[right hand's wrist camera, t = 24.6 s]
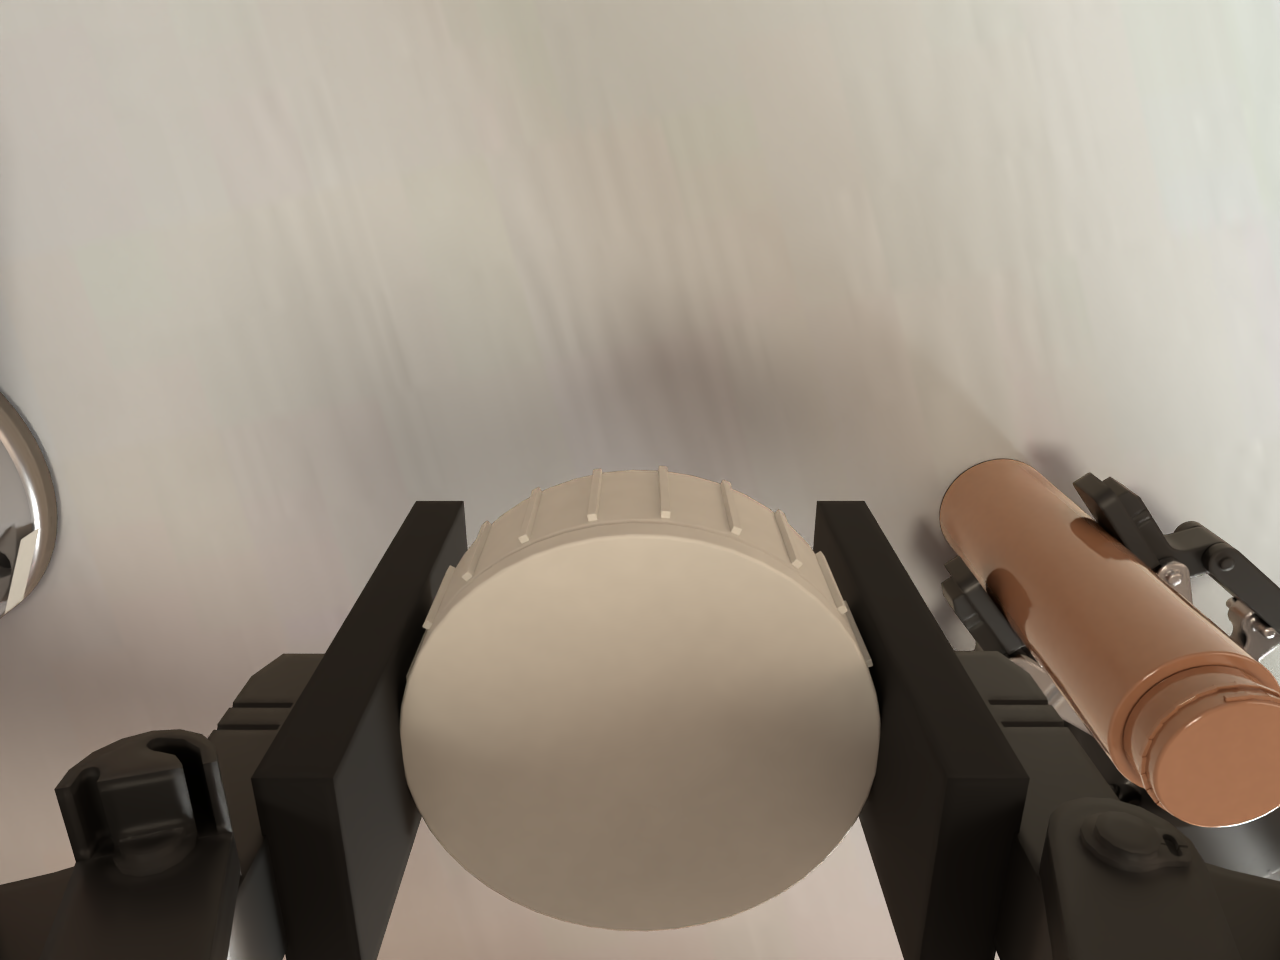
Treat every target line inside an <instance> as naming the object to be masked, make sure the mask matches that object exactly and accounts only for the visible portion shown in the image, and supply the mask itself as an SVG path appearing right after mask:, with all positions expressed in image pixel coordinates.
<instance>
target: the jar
mask: <svg viewBox="0 0 1280 960" xmlns="http://www.w3.org/2000/svg"><path fill="white" fill-rule="evenodd" d="M940 526H941V529H942V532H943V535H944V537H945V539H946V540H947V542H948V543H949V545H950V546H951V547H952V549H953V550H954V551H955V553H956V554H957V555H958V556H960V557H961V559H962V560H963V561H964V563H965V564H966V565H967V567H968V568H969V569H970V571H971V572H972V573H973V575H974V576H975V577H976V579H977V580H978V581H979V583H980V584H981V585H982V587H983V588H984V590H985V591H986V592H987V594H988V595H989V597H990V598H991V599H992V601H993V602H994V603H995V605H996V606H997V608H998V609H999V610H1000V612H1001V613H1002V614H1003V616H1004V617H1005V619H1006V620H1007V621H1008V623H1009V624H1010V626H1011V627H1012V629H1013V630H1014V632H1015V633H1016V634H1017V636H1018V637H1019V638H1020V640H1021V641H1022V642H1023V644H1024V645H1025V646H1026V648H1027V649H1028V650H1029V652H1030V653H1031V654H1032V656H1033V657H1034V658H1035V660H1036V661H1037V662H1038V664H1039V665H1040V666H1041V668H1042V669H1043V670H1044V672H1045V673H1046V674H1047V676H1048V677H1049V678H1050V680H1051V681H1052V682H1053V684H1054V685H1055V686H1056V688H1057V689H1058V690H1059V692H1060V693H1061V694H1062V696H1063V697H1064V698H1065V700H1066V701H1067V702H1068V704H1069V705H1070V706H1071V708H1072V709H1073V711H1074V712H1075V713H1076V715H1077V716H1078V717H1079V719H1080V720H1081V721H1082V723H1083V724H1084V725H1085V727H1086V728H1087V729H1088V731H1089V732H1090V733H1091V735H1092V736H1093V737H1094V739H1095V740H1096V741H1097V743H1098V744H1099V745H1100V747H1101V748H1102V749H1103V751H1104V752H1105V753H1106V755H1107V756H1108V757H1109V759H1110V760H1111V761H1112V763H1113V764H1114V765H1115V767H1116V768H1117V769H1118V770H1119V772H1120V773H1121V774H1122V775H1123V776H1124V777H1126V778H1127V779H1128V780H1129V781H1131V782H1132V783H1134V784H1136V785H1138V786H1139V787H1142V788H1144V789H1145V790H1146V791H1147V793H1148V794H1149V795H1150V797H1151V798H1152V799H1153V800H1154V802H1155V803H1156V804H1157V805H1158V806H1160V807H1161V808H1163V809H1164V810H1166V811H1167V812H1169V813H1170V814H1171V815H1173V816H1175V817H1177V818H1178V819H1180V820H1182V821H1184V822H1187V823H1189V824H1193V825H1197V826H1202V827H1214V828H1219V827H1230V826H1236V825H1240V824H1244V823H1248V822H1250V821H1253V820H1256V819H1258V818H1260V817H1262V816H1264V815H1267V814H1268V813H1270V812H1272V811H1273V810H1275V809H1277V808H1278V807H1279V806H1280V686H1279V684H1278V683H1277V681H1276V679H1275V677H1274V676H1273V675H1272V674H1271V672H1270V671H1269V670H1268V669H1267V668H1265V667H1264V666H1263V665H1262V664H1261V663H1260V662H1259V661H1257V660H1256V659H1255V658H1254V657H1253V656H1252V655H1250V654H1249V653H1248V652H1247V651H1246V650H1245V649H1243V648H1242V647H1241V646H1240V645H1239V644H1238V643H1236V642H1235V641H1234V640H1233V639H1232V638H1231V637H1230V636H1228V635H1227V634H1226V633H1225V632H1224V631H1223V630H1221V629H1220V628H1219V627H1218V626H1217V625H1216V624H1214V623H1213V622H1212V621H1211V620H1210V619H1209V618H1207V617H1206V616H1205V615H1204V614H1203V613H1202V612H1200V611H1199V610H1198V609H1197V608H1196V607H1195V606H1193V605H1192V604H1191V603H1190V602H1189V601H1188V600H1187V599H1185V598H1184V597H1183V596H1182V595H1181V594H1180V593H1178V592H1177V591H1176V590H1175V589H1174V588H1173V587H1171V586H1170V585H1169V584H1168V583H1167V582H1166V581H1164V580H1163V579H1162V578H1161V577H1160V576H1159V575H1157V574H1156V573H1155V572H1154V571H1153V570H1152V569H1151V568H1149V567H1148V566H1147V565H1146V564H1145V563H1144V562H1142V561H1141V560H1140V559H1139V558H1138V557H1137V556H1135V555H1134V554H1133V553H1132V552H1131V551H1130V550H1128V549H1127V548H1126V547H1125V546H1124V545H1123V544H1121V543H1120V542H1119V541H1118V540H1117V539H1116V538H1114V537H1113V536H1112V535H1111V534H1110V533H1109V532H1108V531H1106V530H1105V529H1104V528H1103V527H1102V526H1101V525H1099V524H1098V523H1097V522H1096V521H1095V520H1094V519H1092V518H1091V517H1090V516H1089V515H1088V514H1087V513H1085V512H1084V511H1083V510H1082V509H1081V508H1080V507H1078V506H1077V505H1076V504H1075V503H1074V502H1073V501H1071V500H1070V499H1069V498H1068V497H1067V496H1066V495H1065V494H1063V493H1062V492H1061V491H1060V490H1059V489H1058V488H1056V487H1055V486H1054V485H1053V484H1052V483H1051V482H1049V481H1048V480H1047V479H1046V478H1045V477H1044V476H1042V475H1041V474H1040V473H1039V472H1038V471H1037V470H1035V469H1034V468H1033V467H1031V466H1029V465H1027V464H1025V463H1023V462H1020V461H1016V460H1010V459H998V460H991V461H986V462H983V463H980V464H978V465H976V466H974V467H972V468H970V469H968V470H967V471H965V472H964V473H963V474H961V475H960V476H959V477H958V478H957V479H956V480H955V481H954V482H953V483H952V485H951V486H950V487H949V489H948V491H947V492H946V494H945V496H944V498H943V501H942V505H941V509H940Z"/></svg>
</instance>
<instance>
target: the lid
mask: <svg viewBox="0 0 1280 960" xmlns="http://www.w3.org/2000/svg"><path fill="white" fill-rule="evenodd" d="M423 628H425V629H426V631H425V633H424V635H423V638H422V640H421V642H420V645H419V647H418V649H417V652H416V654H415V656H414V659H413V661H412V664H411V666H410V668H409V671H408V673H407V675H406V681H407V682H406V687H405V691H404V695H403V699H402V703H401V710H400V737H401V745H402V754H403V762H404V770H405V777H406V781H407V785H408V787H409V789H410V792H411V794H412V797H413V799H414V802H415V804H416V807H417V809H418V810H419V812H420V814H421V816H422V817H423V819H424V821H425V822H426V824H427V826H428V828H429V829H430V831H431V832H432V833H433V835H434V836H435V837H436V838H437V840H438V841H439V842H440V843H441V845H442V846H443V847H444V849H445V850H446V851H447V852H448V853H449V854H450V855H451V856H452V857H453V858H454V859H455V860H456V861H457V862H458V863H459V864H460V865H461V866H462V867H463V868H464V869H465V870H467V871H468V872H469V873H470V874H472V875H473V876H474V877H476V878H477V879H478V880H480V881H481V882H482V883H483V884H485V885H486V886H488V887H489V888H491V889H493V890H494V891H496V892H498V893H499V894H501V895H503V896H504V897H506V898H508V899H509V900H511V901H513V902H515V903H518V904H520V905H522V906H524V907H526V908H529V909H531V910H533V911H535V912H538V913H541V914H544V915H547V916H550V917H553V918H556V919H559V920H562V921H566V922H570V923H574V924H579V925H583V926H588V927H594V928H602V929H610V930H618V931H658V930H672V929H680V928H685V927H691V926H697V925H703V924H707V923H710V922H714V921H717V920H721V919H725V918H728V917H731V916H734V915H737V914H739V913H742V912H744V911H747V910H749V909H752V908H754V907H757V906H759V905H761V904H763V903H765V902H766V901H768V900H770V899H772V898H774V897H776V896H778V895H780V894H782V893H783V892H785V891H786V890H788V889H789V888H791V887H792V886H793V885H795V884H796V883H798V882H799V881H801V880H802V879H804V878H805V877H806V876H807V875H808V874H810V873H811V872H812V871H813V870H814V869H815V868H817V867H818V866H819V865H820V864H821V863H822V862H824V861H825V859H826V858H827V857H828V856H829V855H830V854H831V853H832V852H833V851H834V849H835V848H836V847H837V846H838V845H839V844H840V843H841V842H842V840H843V839H844V837H845V836H846V835H847V833H848V832H849V830H850V829H851V827H852V826H853V824H854V823H855V821H856V820H857V818H858V816H859V814H860V812H861V810H862V808H863V806H864V804H865V802H866V800H867V798H868V796H869V792H870V789H871V786H872V783H873V780H874V777H875V774H876V767H877V759H878V751H879V742H880V728H881V718H880V712H879V705H878V699H877V693H876V690H875V687H874V684H873V681H872V678H871V675H870V672H869V669H868V667H871V666H873V663H872V660H871V657H870V655H869V653H868V650H867V648H866V646H865V643H864V641H863V639H862V637H861V634H860V632H859V630H858V627H857V625H856V623H855V620H854V618H853V616H852V613H851V611H850V609H849V606H848V604H847V602H846V601H843V598H842V596H841V594H840V591H839V589H838V587H837V584H836V582H835V580H834V577H833V575H832V573H831V570H830V568H829V566H828V563H827V561H826V559H825V556H824V555H823V553H822V552H821V551H820V552H818V553H816V554H815V553H814V552H813V550H812V549H811V547H810V546H809V545H808V543H807V542H806V541H805V540H804V539H803V538H802V537H801V536H800V535H799V534H798V533H797V532H796V531H795V530H794V529H793V528H792V527H791V526H790V525H789V524H788V522H787V519H786V516H785V514H784V513H783V512H782V511H781V510H779V509H778V510H777V511H776V512H775V513H774V512H773V511H771V510H770V509H769V508H767V507H765V506H764V505H762V504H760V503H759V502H757V501H755V500H754V499H752V498H750V497H748V496H747V495H745V494H743V493H740V492H738V491H736V490H733V489H732V487H731V483H730V482H728V481H725V480H722V483H721V484H719V483H716V482H713V481H709V480H706V479H702V478H699V477H695V476H692V475H686V474H679V473H673V472H668V470H667V467H666V466H659V469H658V471H650V470H627V471H616V472H605V473H602V469H601V468H600V469H594V470H593V474H592V475H590V476H586V477H581V478H576V479H573V480H570V481H568V482H565V483H562V484H559V485H556V486H553V487H550V488H548V489H546V490H544V491H541V489H540V488H539V487H538V488H536V489H534V490H532V492H531V496H530V498H528V499H526V500H524V501H522V502H521V503H519V504H518V505H516V506H515V507H514V508H512V509H511V510H509V511H508V512H506V513H505V514H503V515H502V516H500V517H499V518H498V519H497V520H496V521H495V522H494V523H493V524H492V525H491V524H490V523H489V522H488V521H486V522H485V523H484V524H483V525H482V526H481V529H480V531H479V534H478V536H477V539H476V541H475V542H474V543H473V544H472V545H471V547H470V548H469V549H468V550H467V551H466V553H465V554H464V555H463V557H462V558H461V560H460V562H459V563H458V565H457V567H456V568H455V567H453V566H451V565H450V566H449V568H448V569H447V571H446V574H445V576H444V578H443V580H442V583H441V585H440V587H439V590H438V592H437V594H436V597H435V599H434V601H433V603H432V606H431V608H430V610H429V613H428V615H427V617H426V619H425V622H424V624H423Z"/></svg>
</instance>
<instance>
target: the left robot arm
mask: <svg viewBox="0 0 1280 960" xmlns="http://www.w3.org/2000/svg"><path fill="white" fill-rule="evenodd" d="M1073 485H1074V487H1075V489H1076V490H1077V492H1078V493H1079V495H1080V496H1081V498H1082V500H1083V501H1084V503H1085V504H1086V506H1087V507H1088V509H1089V510H1090V512H1091V513H1092V515H1093V516H1094V518H1095V520H1096V521H1097V523H1098V524H1099V525H1101V526H1102V527H1103V528H1104V529H1105V530H1106V531H1108V532H1109V533H1110V534H1111V535H1112V536H1113V537H1114V538H1116V539H1117V540H1118V541H1119V542H1120V543H1121V544H1123V545H1124V546H1125V547H1126V548H1127V549H1128V550H1130V551H1131V552H1132V553H1133V554H1134V555H1135V556H1137V557H1138V558H1139V559H1140V560H1141V561H1142V562H1144V563H1145V564H1146V565H1147V566H1148V567H1149V568H1151V569H1152V570H1153V571H1154V572H1155V573H1156V574H1157V575H1159V576H1160V577H1161V578H1162V579H1163V580H1164V581H1166V582H1167V583H1168V584H1169V585H1170V586H1171V587H1173V588H1174V589H1175V590H1176V591H1177V592H1178V593H1180V594H1181V595H1182V596H1183V597H1184V598H1185V599H1187V600H1188V601H1189V602H1190V603H1191V604H1192V605H1193V603H1192V593H1191V583H1190V578H1193V577H1197V576H1201V575H1205V574H1208V575H1209V576H1211V577H1212V578H1213V579H1214V580H1215V581H1216V582H1217V583H1219V584H1220V585H1221V586H1222V587H1223V588H1224V589H1225V590H1226V591H1228V592H1229V593H1230V594H1231V595H1232V596H1233V597H1232V598H1230V599H1228V600H1227V602H1226V606H1227V607H1228V608H1229V611H1228V618H1229V620H1230V621H1231V623H1232V625H1233V632H1232V634H1231V636H1230V637H1231V638H1232V639H1233V640H1234V641H1235V642H1236V643H1238V644H1239V645H1240V646H1241V647H1242V648H1243V649H1245V650H1246V651H1247V652H1248V653H1249V654H1250V655H1252V656H1253V657H1254V658H1255V659H1256V660H1257V661H1260V660H1261V659H1262V658H1264V657H1265V656H1266V655H1267V654H1269V653H1270V652H1271V651H1272V650H1274V649H1275V648H1276V647H1277V646H1278V645H1280V588H1279V587H1278V586H1277V585H1276V584H1275V583H1273V582H1272V581H1271V580H1270V579H1269V578H1268V577H1267V576H1266V575H1265V574H1263V573H1262V572H1261V571H1260V570H1259V569H1258V568H1257V567H1256V566H1255V565H1254V564H1252V563H1251V562H1250V561H1249V560H1248V559H1247V558H1246V557H1245V556H1244V555H1242V554H1241V553H1240V552H1239V551H1238V550H1236V549H1235V548H1234V547H1232V546H1231V545H1229V544H1228V543H1227V542H1225V541H1224V540H1222V539H1221V538H1220V537H1218V536H1217V535H1215V534H1214V533H1212V532H1211V531H1210V530H1208V529H1207V528H1205V527H1204V526H1202V525H1201V524H1200V523H1198V522H1195V521H1188V522H1185V523H1183V524H1181V525H1180V526H1178V527H1177V528H1176V530H1175V531H1174V533H1172V534H1167V535H1163V534H1162V532H1161V530H1160V529H1159V527H1158V526H1157V524H1156V522H1155V521H1154V519H1153V518H1152V516H1151V514H1150V513H1149V511H1148V510H1147V508H1146V506H1145V505H1144V503H1143V501H1142V500H1141V498H1140V497H1139V496H1137V495H1136V494H1134V493H1133V492H1132V491H1130V490H1129V489H1128V488H1126V487H1125V486H1124V485H1122V484H1121V483H1119V482H1118V481H1116V480H1114V479H1113V478H1111V477H1109V478H1107V479H1105V480H1104V481H1101V480H1099V479H1098V478H1097V477H1095V476H1094V475H1093V474H1091V473H1090V472H1089V473H1088V474H1086V475H1085V476H1083V477H1081V478H1080V479H1078V480H1077V481H1075V482H1074V483H1073ZM944 566H945V567H946V569H947V570H948V571H949V573H950V574H951V576H952V577H950V578H949V579H947V580H945V581H944V582H942V583H941V585H942V590H943V595H944V597H945V598H946V600H947V601H948V603H949V604H950V606H951V607H952V609H953V610H954V612H955V613H956V615H957V616H958V617H959V619H960V620H961V621H962V623H963V624H964V625H965V627H966V628H967V629H968V631H969V632H970V633H971V635H972V636H973V637H974V639H975V640H976V647H975V650H974V651H998V652H1000V653H1001V654H1003V655H1004V656H1005V657H1007V658H1008V659H1010V660H1011V661H1012V662H1014V663H1015V664H1017V665H1018V666H1020V667H1021V668H1022V669H1024V670H1025V671H1027V672H1028V673H1029V674H1030V675H1031V676H1032V678H1033V679H1034V680H1035V682H1036V683H1037V685H1038V686H1039V687H1040V689H1041V690H1042V692H1043V693H1044V695H1045V696H1046V697H1047V699H1048V704H1049V705H1052V706H1053V707H1054V709H1055V710H1056V711H1057V713H1058V714H1059V716H1060V717H1061V718H1062V720H1063V721H1064V727H1068V728H1069V730H1070V731H1071V732H1072V734H1073V735H1074V737H1075V738H1076V739H1077V741H1078V742H1079V744H1080V745H1081V747H1082V748H1083V749H1084V751H1085V752H1086V754H1087V755H1088V756H1089V758H1090V759H1091V761H1092V762H1093V763H1094V765H1095V766H1096V768H1097V769H1098V770H1099V772H1100V773H1101V775H1102V776H1103V777H1104V779H1105V780H1106V782H1107V783H1108V784H1109V786H1110V787H1111V789H1112V790H1113V791H1114V793H1115V794H1116V796H1117V797H1118V799H1119V800H1120V801H1122V802H1125V803H1129V804H1132V805H1135V806H1139V807H1141V808H1143V809H1145V810H1147V811H1149V812H1151V813H1153V814H1155V815H1157V816H1159V817H1161V818H1163V819H1164V820H1166V821H1168V822H1169V823H1171V824H1172V825H1173V826H1174V827H1175V828H1177V829H1178V830H1179V831H1180V832H1181V833H1183V834H1184V835H1185V836H1186V837H1187V838H1189V839H1190V840H1191V842H1192V843H1193V845H1194V846H1195V848H1196V849H1197V851H1198V852H1199V854H1200V855H1201V857H1202V859H1203V860H1204V862H1205V863H1209V864H1212V865H1215V866H1219V867H1222V868H1225V869H1229V870H1233V871H1237V872H1242V873H1246V874H1251V875H1255V876H1259V877H1264V878H1268V879H1272V880H1277V881H1280V806H1279V807H1278V808H1277V809H1275V810H1273V811H1272V812H1270V813H1268V814H1267V815H1264V816H1262V817H1260V818H1258V819H1256V820H1253V821H1250V822H1248V823H1244V824H1240V825H1236V826H1230V827H1219V828H1214V827H1202V826H1197V825H1193V824H1189V823H1187V822H1184V821H1182V820H1180V819H1178V818H1177V817H1175V816H1173V815H1171V814H1170V813H1169V812H1167V811H1166V810H1164V809H1163V808H1161V807H1160V806H1158V805H1157V804H1156V803H1155V802H1154V800H1153V799H1152V798H1151V797H1150V795H1149V794H1148V793H1147V791H1146V790H1145V789H1144V788H1142V787H1139V786H1138V785H1136V784H1134V783H1132V782H1131V781H1129V780H1128V779H1127V778H1126V777H1124V776H1123V775H1122V774H1121V773H1120V772H1119V770H1118V769H1117V768H1116V767H1115V765H1114V764H1113V763H1112V761H1111V760H1110V759H1109V757H1108V756H1107V755H1106V753H1105V752H1104V751H1103V749H1102V748H1101V747H1100V745H1099V744H1098V743H1097V741H1096V740H1095V739H1094V737H1093V736H1092V735H1091V733H1090V732H1089V731H1088V729H1087V728H1086V727H1085V725H1084V724H1083V723H1082V721H1081V720H1080V719H1079V717H1078V716H1077V715H1076V713H1075V712H1074V711H1073V709H1072V708H1071V706H1070V705H1069V704H1068V702H1067V701H1066V700H1065V698H1064V697H1063V696H1062V694H1061V693H1060V692H1059V690H1058V689H1057V688H1056V686H1055V685H1054V684H1053V682H1052V681H1051V680H1050V678H1049V677H1048V676H1047V674H1046V673H1045V672H1044V670H1043V669H1042V668H1041V666H1040V665H1039V664H1038V662H1037V661H1036V660H1035V658H1034V657H1033V656H1032V654H1031V653H1030V652H1029V650H1028V649H1027V648H1026V646H1025V645H1024V644H1023V642H1022V641H1021V640H1020V638H1019V637H1018V636H1017V634H1016V633H1015V632H1014V630H1013V629H1012V627H1011V626H1010V624H1009V623H1008V621H1007V620H1006V619H1005V617H1004V616H1003V614H1002V613H1001V612H1000V610H999V609H998V608H997V606H996V605H995V603H994V602H993V601H992V599H991V598H990V597H989V595H988V594H987V592H986V591H985V590H984V588H983V587H982V585H981V584H980V583H979V581H978V580H977V579H976V577H975V576H974V575H973V573H972V572H971V571H970V569H969V568H968V567H967V565H966V564H965V563H964V561H963V560H962V559H961V557H960V556H957V557H955V558H954V559H952V560H951V561H949V562H948V563H946V564H945V565H944Z"/></svg>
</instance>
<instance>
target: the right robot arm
mask: <svg viewBox="0 0 1280 960" xmlns="http://www.w3.org/2000/svg"><path fill="white" fill-rule="evenodd" d="M56 534H57V504H56V498H55V492H54V487H53V483H52V480H51V476H50V472H49V470H48V467H47V464H46V462H45V459H44V457H43V454H42V452H41V450H40V448H39V446H38V444H37V442H36V440H35V439H34V437H33V435H32V434H31V432H30V430H29V429H28V427H27V425H26V424H25V422H24V421H23V420H22V418H21V417H20V415H19V414H18V413H17V411H16V410H15V409H14V407H13V406H12V405H11V404H10V403H9V402H8V400H7V399H6V398H5V397H4V396H3V394H2V393H1V392H0V618H1V617H3V616H4V615H5V614H6V613H8V612H9V611H10V610H12V609H13V608H14V607H15V606H17V605H18V604H19V603H20V602H21V601H23V600H24V599H25V598H26V597H27V596H28V595H29V594H30V593H31V591H32V590H33V589H34V588H35V586H36V585H37V584H38V582H39V581H40V579H41V578H42V576H43V574H44V573H45V571H46V568H47V566H48V564H49V562H50V559H51V556H52V553H53V549H54V545H55V539H56ZM466 551H467V539H466V526H465V513H464V501H416V502H415V504H414V506H413V507H412V509H411V511H410V512H409V514H408V516H407V517H406V519H405V521H404V522H403V524H402V526H401V527H400V529H399V531H398V532H397V534H396V536H395V537H394V539H393V541H392V543H391V544H390V546H389V548H388V549H387V551H386V553H385V554H384V556H383V558H382V559H381V561H380V563H379V564H378V566H377V568H376V569H375V571H374V573H373V574H372V576H371V578H370V579H369V581H368V583H367V584H366V586H365V588H364V589H363V591H362V593H361V594H360V596H359V598H358V599H357V601H356V603H355V604H354V606H353V608H352V609H351V611H350V613H349V614H348V616H347V618H346V620H345V621H344V623H343V625H342V626H341V628H340V630H339V631H338V633H337V635H336V636H335V638H334V640H333V641H332V643H331V645H330V646H329V648H328V650H327V651H326V653H325V654H282V655H281V656H280V657H278V658H277V659H275V660H274V661H272V662H271V663H270V664H268V665H267V666H265V667H264V668H263V669H261V670H260V671H258V672H257V673H256V674H254V675H253V676H251V678H250V679H249V681H248V682H247V683H246V685H245V686H244V688H243V689H242V691H241V692H240V693H239V695H238V696H237V698H236V699H235V700H234V702H233V707H232V708H229V709H228V710H227V712H226V713H225V715H224V716H223V717H222V719H221V720H220V722H219V723H218V728H217V730H213V732H212V733H211V734H210V736H209V737H208V739H207V738H206V737H205V736H203V735H202V734H198V733H194V732H189V731H185V730H181V729H178V730H160V731H150V732H146V733H142V734H139V735H135V736H131V737H127V738H123V739H121V740H118V741H116V742H114V743H112V744H110V745H108V746H105V747H103V748H101V749H99V750H97V751H95V752H93V753H91V754H90V755H89V756H87V757H86V758H85V759H83V760H82V761H80V762H79V763H78V764H76V765H75V766H74V767H72V768H71V769H70V770H69V771H68V772H67V773H66V775H65V776H64V777H63V779H62V780H61V781H60V783H59V784H58V785H57V787H56V788H55V793H56V796H57V800H58V803H59V806H60V810H61V813H62V816H63V820H64V823H65V826H66V830H67V833H68V836H69V840H70V843H71V847H72V850H73V853H74V857H75V860H76V864H75V866H74V867H71V868H68V869H64V870H61V871H58V872H54V873H50V874H46V875H42V876H37V877H33V878H29V879H24V880H20V881H16V882H11V883H7V884H3V885H0V960H282V959H283V957H284V955H286V960H376V959H377V956H378V953H379V950H380V947H381V944H382V940H383V937H384V934H385V931H386V928H387V925H388V921H389V918H390V915H391V912H392V909H393V906H394V903H395V899H396V896H397V893H398V890H399V887H400V884H401V880H402V877H403V874H404V871H405V868H406V865H407V861H408V858H409V855H410V852H411V849H412V846H413V842H414V839H415V836H416V833H417V830H418V827H419V823H420V820H421V817H422V816H421V814H420V812H419V810H418V809H417V807H416V804H415V802H414V799H413V797H412V794H411V792H410V789H409V787H408V785H407V781H406V777H405V770H404V762H403V754H402V745H401V737H400V710H401V703H402V699H403V695H404V691H405V687H406V682H407V681H406V675H407V673H408V671H409V668H410V666H411V664H412V661H413V659H414V656H415V654H416V652H417V649H418V647H419V645H420V642H421V640H422V638H423V635H424V633H425V631H426V629H425V628H423V624H424V622H425V619H426V617H427V615H428V613H429V610H430V608H431V606H432V603H433V601H434V599H435V597H436V594H437V592H438V590H439V587H440V585H441V583H442V580H443V578H444V576H445V574H446V571H447V569H448V568H449V566H450V565H451V566H453V567H455V568H456V567H457V565H458V563H459V562H460V560H461V558H462V557H463V555H464V554H465V553H466ZM820 551H821V552H822V553H823V555H824V556H825V559H826V561H827V563H828V566H829V568H830V570H831V573H832V575H833V577H834V580H835V582H836V584H837V587H838V589H839V591H840V594H841V596H842V598H843V601H846V602H847V604H848V606H849V609H850V611H851V613H852V616H853V618H854V620H855V623H856V625H857V627H858V630H859V632H860V634H861V637H862V639H863V641H864V643H865V646H866V648H867V650H868V653H869V655H870V657H871V660H872V663H873V666H871V667H868V669H869V672H870V675H871V678H872V681H873V684H874V687H875V690H876V693H877V699H878V705H879V712H880V718H881V728H880V742H879V751H878V759H877V767H876V774H875V777H874V780H873V783H872V786H871V789H870V792H869V796H868V798H867V800H866V802H865V804H864V806H863V808H862V810H861V812H860V814H859V819H860V822H861V825H862V828H863V831H864V834H865V838H866V841H867V844H868V847H869V850H870V853H871V857H872V860H873V863H874V866H875V869H876V872H877V875H878V879H879V882H880V885H881V888H882V891H883V894H884V898H885V901H886V904H887V907H888V910H889V913H890V917H891V920H892V923H893V926H894V929H895V932H896V936H897V939H898V942H899V945H900V948H901V951H902V955H903V958H904V960H994V958H995V953H996V951H997V954H998V956H999V958H1000V960H1280V881H1277V880H1272V879H1268V878H1264V877H1259V876H1255V875H1251V874H1246V873H1242V872H1237V871H1233V870H1229V869H1225V868H1222V867H1219V866H1215V865H1212V864H1209V863H1205V862H1204V860H1203V859H1202V857H1201V855H1200V854H1199V852H1198V851H1197V849H1196V848H1195V846H1194V845H1193V843H1192V842H1191V840H1190V839H1189V838H1187V837H1186V836H1185V835H1184V834H1183V833H1181V832H1180V831H1179V830H1178V829H1177V828H1175V827H1174V826H1173V825H1172V824H1171V823H1169V822H1168V821H1166V820H1164V819H1163V818H1161V817H1159V816H1157V815H1155V814H1153V813H1151V812H1149V811H1147V810H1145V809H1143V808H1141V807H1139V806H1135V805H1132V804H1129V803H1125V802H1122V801H1120V800H1119V799H1118V797H1117V796H1116V794H1115V793H1114V791H1113V790H1112V789H1111V787H1110V786H1109V784H1108V783H1107V782H1106V780H1105V779H1104V777H1103V776H1102V775H1101V773H1100V772H1099V770H1098V769H1097V768H1096V766H1095V765H1094V763H1093V762H1092V761H1091V759H1090V758H1089V756H1088V755H1087V754H1086V752H1085V751H1084V749H1083V748H1082V747H1081V745H1080V744H1079V742H1078V741H1077V739H1076V738H1075V737H1074V735H1073V734H1072V732H1071V731H1070V730H1069V728H1068V727H1064V721H1063V720H1062V718H1061V717H1060V716H1059V714H1058V713H1057V711H1056V710H1055V709H1054V707H1053V706H1052V705H1049V704H1048V699H1047V697H1046V696H1045V695H1044V693H1043V692H1042V690H1041V689H1040V687H1039V686H1038V685H1037V683H1036V682H1035V680H1034V679H1033V678H1032V676H1031V675H1030V674H1029V673H1028V672H1027V671H1025V670H1024V669H1022V668H1021V667H1020V666H1018V665H1017V664H1015V663H1014V662H1012V661H1011V660H1010V659H1008V658H1007V657H1005V656H1004V655H1003V654H1001V653H1000V652H998V651H954V650H953V649H952V647H951V645H950V644H949V642H948V640H947V639H946V637H945V635H944V634H943V632H942V630H941V629H940V627H939V625H938V624H937V622H936V620H935V619H934V617H933V615H932V613H931V612H930V610H929V608H928V607H927V605H926V603H925V602H924V600H923V598H922V597H921V595H920V593H919V592H918V590H917V588H916V587H915V585H914V583H913V582H912V580H911V578H910V577H909V575H908V573H907V572H906V570H905V568H904V567H903V565H902V563H901V562H900V560H899V558H898V557H897V555H896V553H895V552H894V550H893V548H892V547H891V545H890V543H889V542H888V540H887V538H886V537H885V535H884V533H883V532H882V530H881V528H880V526H879V525H878V523H877V521H876V520H875V518H874V516H873V515H872V513H871V511H870V510H869V508H868V506H867V505H866V503H865V501H817V508H816V521H815V533H814V546H813V552H814V553H815V554H816V553H818V552H820Z"/></svg>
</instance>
